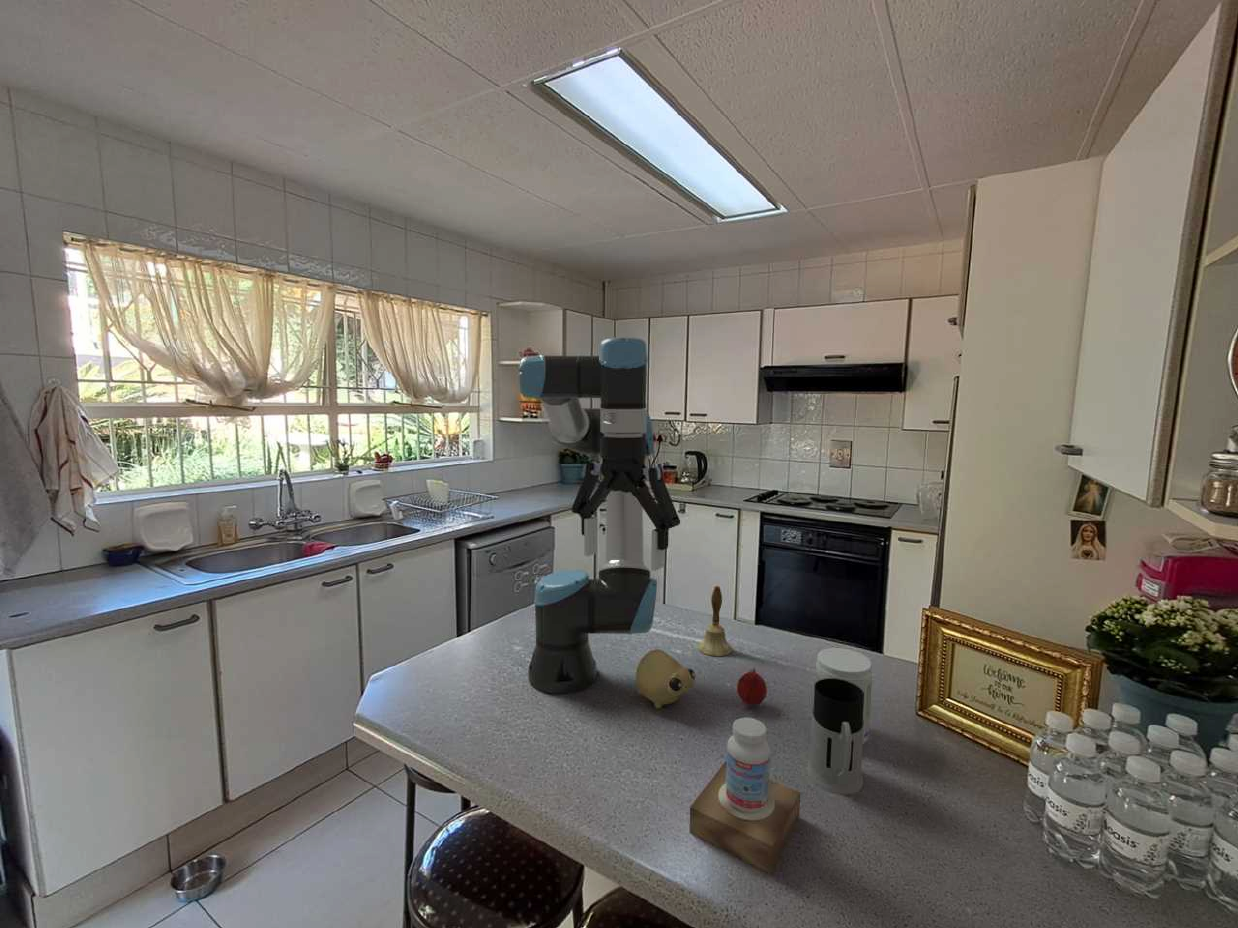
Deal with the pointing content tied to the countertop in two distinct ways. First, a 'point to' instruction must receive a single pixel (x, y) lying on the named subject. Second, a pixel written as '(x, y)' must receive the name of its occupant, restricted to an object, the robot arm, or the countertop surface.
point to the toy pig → (663, 678)
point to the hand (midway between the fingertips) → (622, 561)
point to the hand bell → (715, 631)
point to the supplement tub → (848, 674)
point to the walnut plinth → (746, 822)
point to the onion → (751, 688)
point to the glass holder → (837, 736)
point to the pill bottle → (748, 766)
